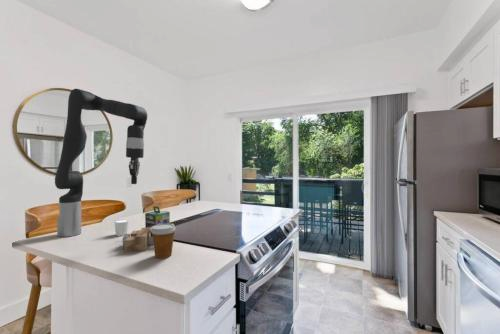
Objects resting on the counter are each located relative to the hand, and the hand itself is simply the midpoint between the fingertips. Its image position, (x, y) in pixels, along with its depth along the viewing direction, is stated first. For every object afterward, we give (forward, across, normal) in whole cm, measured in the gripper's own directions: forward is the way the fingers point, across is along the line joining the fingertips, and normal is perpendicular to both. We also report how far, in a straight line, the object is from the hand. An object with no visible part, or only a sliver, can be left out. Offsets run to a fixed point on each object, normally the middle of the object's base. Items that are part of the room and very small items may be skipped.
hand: (133, 183), depth 113 cm
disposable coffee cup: (+27, +23, +16) cm, 39 cm away
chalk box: (+28, -10, +10) cm, 32 cm away
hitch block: (+27, +8, +4) cm, 29 cm away
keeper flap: (+20, +7, +14) cm, 26 cm away
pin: (+27, +7, +4) cm, 29 cm away
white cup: (+28, -14, -8) cm, 32 cm away
